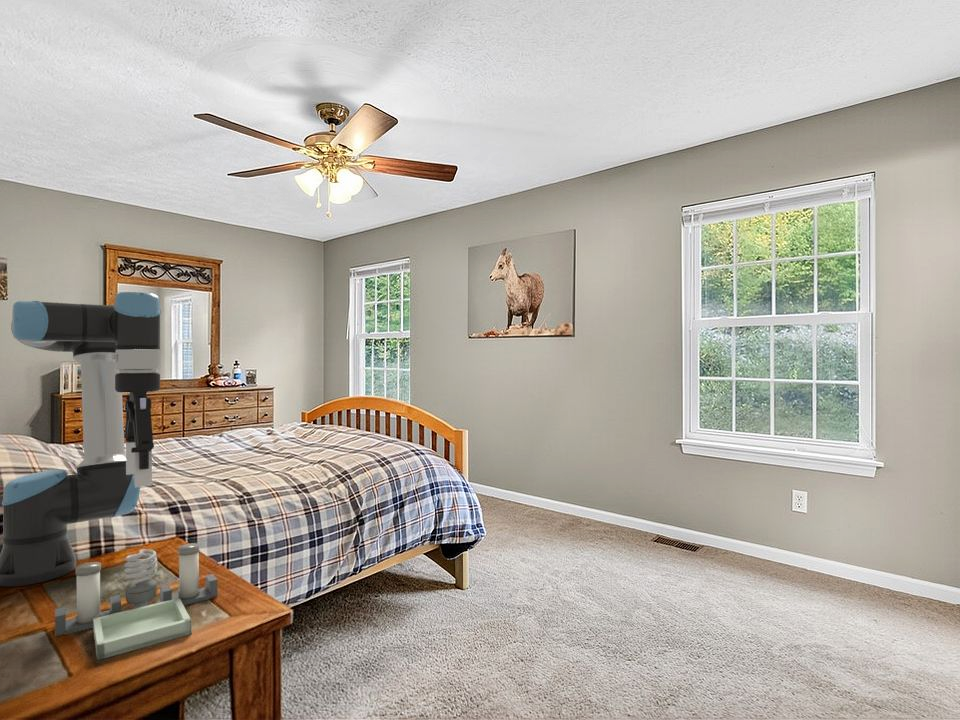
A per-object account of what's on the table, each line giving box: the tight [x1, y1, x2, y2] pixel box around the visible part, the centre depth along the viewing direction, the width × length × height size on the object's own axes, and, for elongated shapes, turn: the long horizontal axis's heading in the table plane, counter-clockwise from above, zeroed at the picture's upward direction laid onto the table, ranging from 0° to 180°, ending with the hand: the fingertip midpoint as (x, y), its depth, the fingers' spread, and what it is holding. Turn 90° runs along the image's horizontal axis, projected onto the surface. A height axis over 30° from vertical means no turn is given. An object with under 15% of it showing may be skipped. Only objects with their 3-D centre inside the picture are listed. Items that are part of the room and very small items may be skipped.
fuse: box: [75, 561, 102, 625], centre depth 103 cm, size 4×4×10 cm
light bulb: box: [123, 548, 158, 609], centre depth 109 cm, size 6×6×12 cm
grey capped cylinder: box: [177, 542, 200, 600], centre depth 114 cm, size 4×4×10 cm
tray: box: [92, 598, 192, 661], centre depth 100 cm, size 12×14×2 cm
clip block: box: [54, 573, 218, 637], centre depth 109 cm, size 5×27×4 cm, turn 128°
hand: (138, 479), depth 108 cm, fingers open, 13 cm apart
